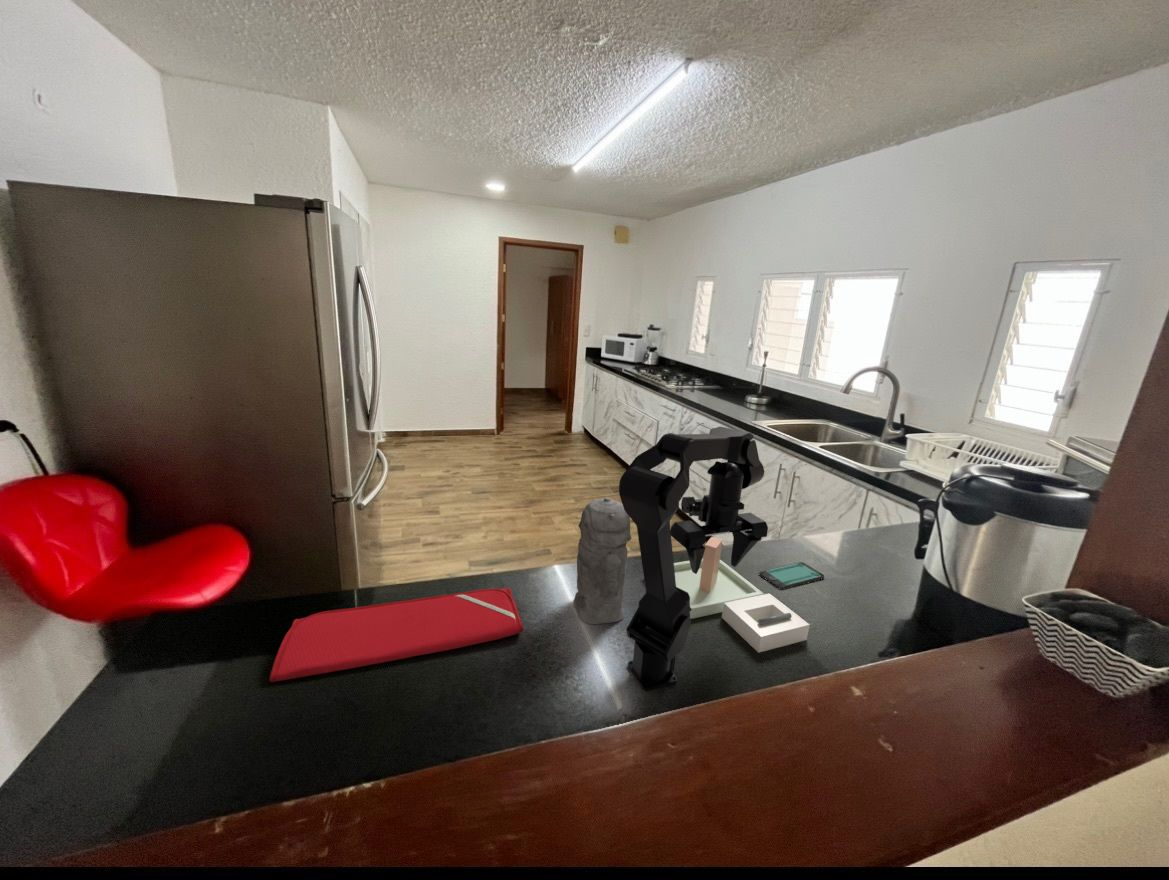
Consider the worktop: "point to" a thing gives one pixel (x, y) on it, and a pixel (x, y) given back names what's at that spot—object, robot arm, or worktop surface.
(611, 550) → the figurine
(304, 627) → the dish drying mat
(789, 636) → the white slotted base
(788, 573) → the smartphone
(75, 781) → the worktop surface
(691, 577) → the tray
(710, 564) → the salmon pink rectangular block
